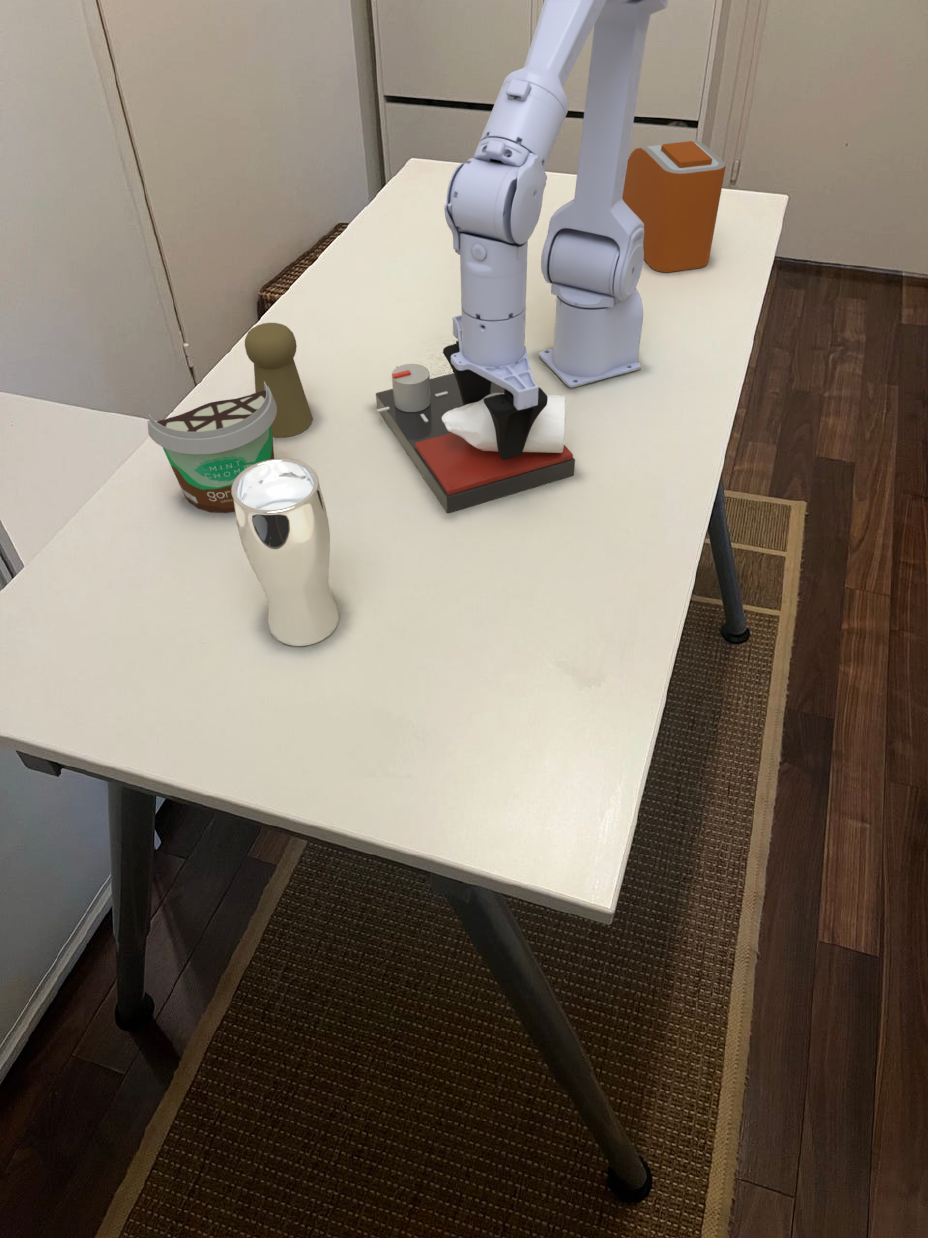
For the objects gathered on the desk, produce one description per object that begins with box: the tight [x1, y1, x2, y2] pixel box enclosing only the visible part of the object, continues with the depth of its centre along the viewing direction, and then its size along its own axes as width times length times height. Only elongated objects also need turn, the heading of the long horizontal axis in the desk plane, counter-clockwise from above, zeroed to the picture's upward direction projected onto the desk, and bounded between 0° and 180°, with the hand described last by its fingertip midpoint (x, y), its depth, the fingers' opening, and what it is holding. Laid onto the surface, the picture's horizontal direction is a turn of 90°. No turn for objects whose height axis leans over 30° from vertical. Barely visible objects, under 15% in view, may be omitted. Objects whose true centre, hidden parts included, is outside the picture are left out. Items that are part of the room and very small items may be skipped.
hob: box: [375, 372, 576, 514], centre depth 98 cm, size 15×21×2 cm
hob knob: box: [391, 363, 431, 412], centre depth 99 cm, size 4×4×4 cm
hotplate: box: [415, 433, 574, 495], centre depth 93 cm, size 14×9×1 cm, turn 114°
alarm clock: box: [622, 140, 726, 273], centre depth 124 cm, size 15×8×14 cm, turn 13°
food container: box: [147, 381, 277, 514], centre depth 89 cm, size 12×6×10 cm, turn 117°
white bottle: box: [442, 393, 566, 453], centre depth 91 cm, size 6×12×6 cm, turn 86°
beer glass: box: [231, 458, 340, 647], centre depth 75 cm, size 7×7×15 cm
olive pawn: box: [244, 322, 314, 438], centre depth 98 cm, size 6×6×11 cm
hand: (493, 433), depth 92 cm, fingers closed on white bottle, 7 cm apart
